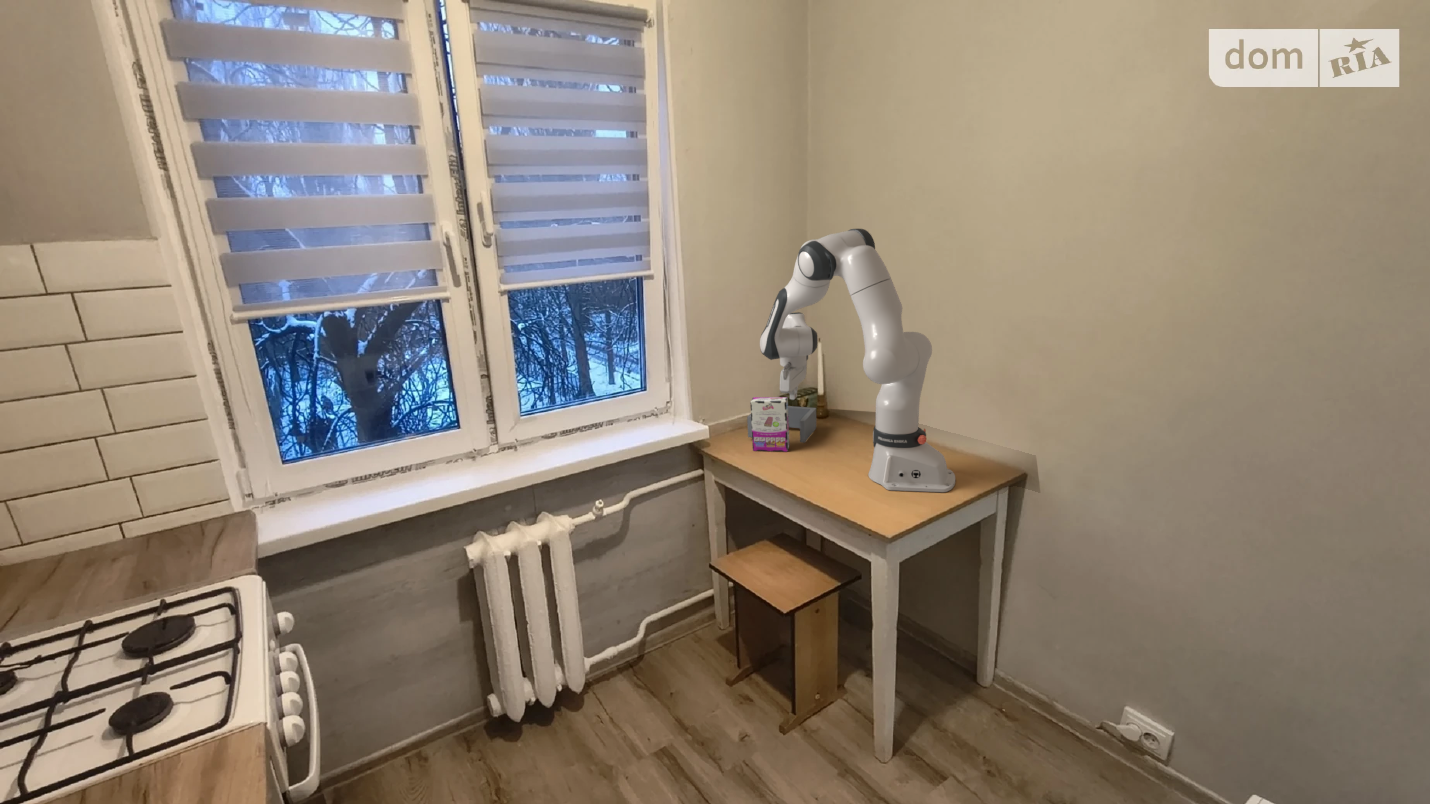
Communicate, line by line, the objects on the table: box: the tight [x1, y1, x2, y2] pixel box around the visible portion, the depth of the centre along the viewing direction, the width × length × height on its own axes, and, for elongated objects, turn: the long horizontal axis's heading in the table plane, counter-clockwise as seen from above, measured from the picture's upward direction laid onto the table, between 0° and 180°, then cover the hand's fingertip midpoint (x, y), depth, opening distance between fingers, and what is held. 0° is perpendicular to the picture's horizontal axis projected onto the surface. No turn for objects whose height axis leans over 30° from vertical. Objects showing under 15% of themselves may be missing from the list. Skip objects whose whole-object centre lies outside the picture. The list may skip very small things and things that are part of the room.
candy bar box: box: [750, 396, 790, 453], centre depth 197 cm, size 11×5×16 cm, turn 77°
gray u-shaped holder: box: [746, 405, 817, 443], centre depth 208 cm, size 19×14×8 cm
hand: (793, 398), depth 220 cm, fingers closed
